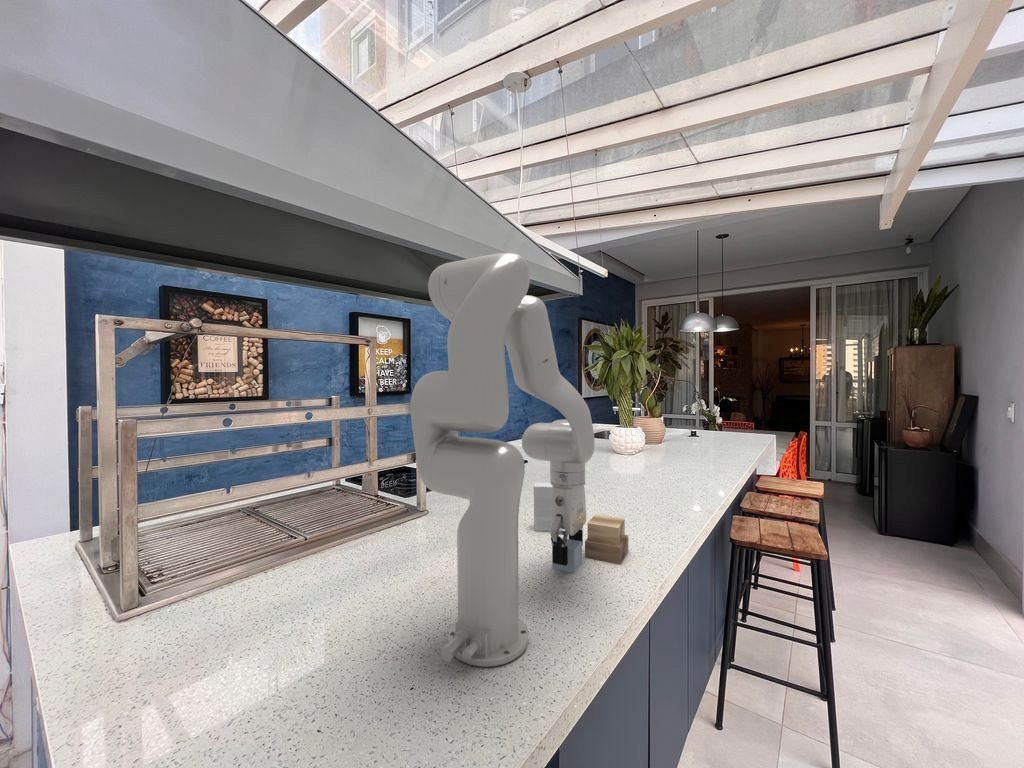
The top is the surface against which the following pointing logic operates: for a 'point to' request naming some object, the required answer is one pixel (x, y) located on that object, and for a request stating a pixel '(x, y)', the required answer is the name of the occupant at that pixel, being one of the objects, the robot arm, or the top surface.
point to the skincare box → (542, 506)
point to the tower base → (607, 551)
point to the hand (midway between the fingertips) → (568, 554)
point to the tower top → (606, 529)
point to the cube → (571, 557)
